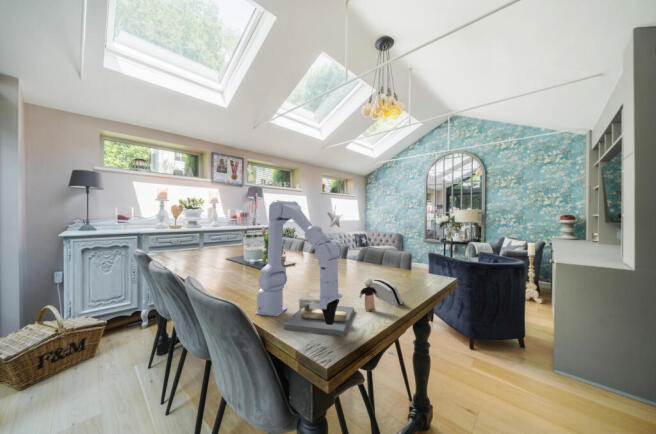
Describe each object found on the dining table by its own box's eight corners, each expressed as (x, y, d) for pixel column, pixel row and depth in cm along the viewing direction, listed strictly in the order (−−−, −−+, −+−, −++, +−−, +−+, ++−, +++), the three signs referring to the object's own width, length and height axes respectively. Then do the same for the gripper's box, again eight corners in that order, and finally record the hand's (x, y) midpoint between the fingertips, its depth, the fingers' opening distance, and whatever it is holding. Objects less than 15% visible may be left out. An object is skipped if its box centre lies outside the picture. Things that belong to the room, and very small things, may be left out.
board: (283, 328, 75) (283, 324, 75) (305, 306, 95) (305, 303, 95) (343, 335, 70) (343, 331, 70) (354, 311, 89) (353, 307, 89)
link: (298, 318, 79) (298, 306, 79) (303, 313, 83) (303, 302, 83) (344, 323, 75) (344, 310, 75) (347, 317, 79) (347, 305, 79)
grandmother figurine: (374, 307, 93) (374, 275, 93) (379, 310, 89) (379, 278, 89) (357, 310, 90) (357, 277, 90) (362, 313, 87) (361, 280, 87)
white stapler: (405, 304, 95) (398, 282, 94) (397, 310, 93) (390, 288, 92) (381, 293, 110) (375, 274, 109) (373, 298, 109) (367, 278, 107)
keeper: (299, 310, 87) (299, 299, 87) (301, 308, 89) (301, 297, 89) (320, 312, 84) (320, 301, 85) (322, 310, 86) (322, 299, 86)
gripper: (335, 287, 64) (336, 336, 64) (345, 275, 78) (346, 315, 78) (312, 286, 66) (312, 333, 66) (326, 274, 80) (326, 313, 80)
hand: (329, 323), depth 72 cm, fingers closed
